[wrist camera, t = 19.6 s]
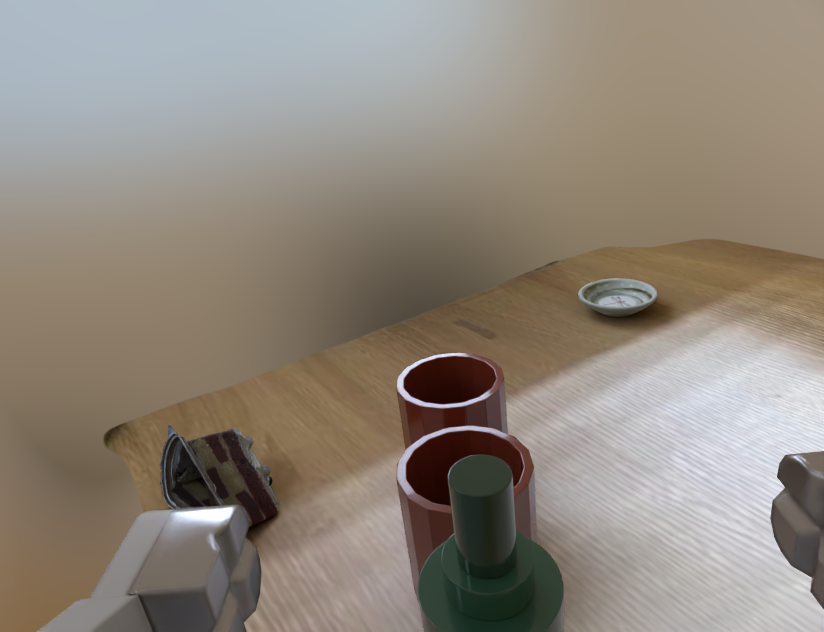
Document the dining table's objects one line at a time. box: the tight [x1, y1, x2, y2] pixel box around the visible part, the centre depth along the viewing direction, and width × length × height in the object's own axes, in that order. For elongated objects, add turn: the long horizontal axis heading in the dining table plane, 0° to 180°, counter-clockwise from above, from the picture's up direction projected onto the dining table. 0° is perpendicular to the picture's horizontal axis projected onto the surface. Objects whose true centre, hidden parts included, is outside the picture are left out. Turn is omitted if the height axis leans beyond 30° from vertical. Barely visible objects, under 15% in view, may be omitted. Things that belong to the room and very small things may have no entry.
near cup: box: [397, 426, 537, 604], centre depth 39 cm, size 8×8×10 cm
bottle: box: [418, 455, 564, 632], centre depth 28 cm, size 6×6×18 cm
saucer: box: [579, 279, 658, 317], centre depth 77 cm, size 10×10×2 cm
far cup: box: [397, 353, 508, 449], centre depth 49 cm, size 8×8×10 cm
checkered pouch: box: [160, 425, 279, 527], centre depth 52 cm, size 10×7×12 cm
